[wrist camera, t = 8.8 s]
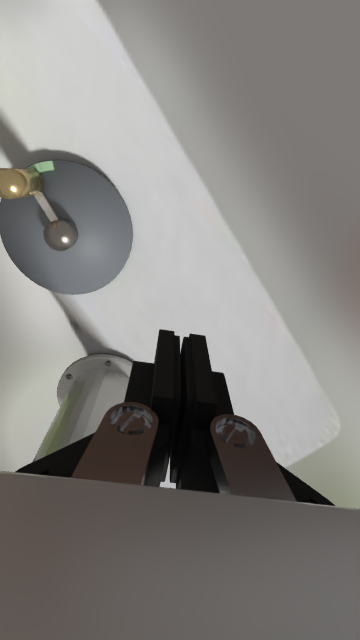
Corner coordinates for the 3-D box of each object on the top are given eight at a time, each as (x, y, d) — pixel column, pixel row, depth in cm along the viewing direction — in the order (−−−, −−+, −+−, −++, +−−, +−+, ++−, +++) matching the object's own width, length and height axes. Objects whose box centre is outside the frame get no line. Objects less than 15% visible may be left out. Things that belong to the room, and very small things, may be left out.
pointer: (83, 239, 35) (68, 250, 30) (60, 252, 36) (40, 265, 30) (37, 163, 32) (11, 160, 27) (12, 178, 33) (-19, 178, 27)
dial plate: (126, 299, 40) (124, 303, 38) (6, 281, 39) (0, 285, 37) (139, 173, 34) (138, 173, 33) (0, 148, 33) (-7, 147, 32)
